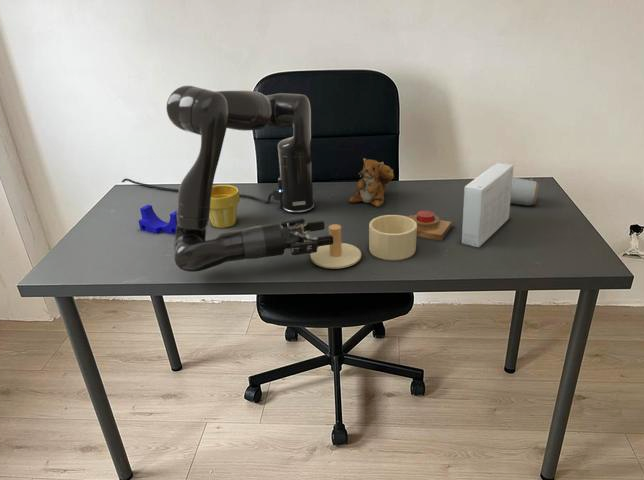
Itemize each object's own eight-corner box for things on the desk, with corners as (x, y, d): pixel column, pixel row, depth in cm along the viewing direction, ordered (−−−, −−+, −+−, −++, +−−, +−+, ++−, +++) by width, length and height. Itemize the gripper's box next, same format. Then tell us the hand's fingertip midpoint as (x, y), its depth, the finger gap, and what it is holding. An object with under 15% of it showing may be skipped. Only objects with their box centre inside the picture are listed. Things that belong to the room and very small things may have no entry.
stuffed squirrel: (347, 203, 166) (346, 161, 159) (370, 188, 176) (370, 149, 170) (376, 210, 161) (376, 167, 155) (397, 194, 172) (398, 153, 165)
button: (415, 221, 146) (415, 215, 145) (420, 215, 150) (420, 209, 149) (430, 224, 145) (431, 218, 144) (435, 218, 148) (436, 212, 147)
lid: (301, 264, 133) (299, 232, 129) (325, 243, 143) (324, 212, 139) (347, 275, 128) (346, 242, 124) (369, 252, 138) (369, 221, 134)
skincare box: (490, 215, 156) (497, 161, 148) (509, 219, 153) (516, 165, 146) (458, 243, 141) (464, 185, 134) (478, 248, 139) (484, 189, 131)
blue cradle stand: (140, 230, 153) (136, 210, 150) (151, 224, 156) (147, 204, 153) (174, 237, 148) (170, 217, 145) (185, 230, 152) (181, 211, 149)
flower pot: (249, 218, 158) (245, 186, 153) (231, 232, 150) (226, 199, 145) (218, 213, 161) (213, 182, 156) (198, 228, 153) (193, 195, 148)
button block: (398, 233, 147) (398, 221, 146) (410, 220, 154) (410, 208, 153) (441, 240, 143) (442, 228, 141) (451, 227, 150) (452, 215, 148)
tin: (361, 254, 137) (361, 229, 134) (380, 235, 146) (380, 211, 143) (406, 264, 132) (406, 238, 129) (421, 243, 142) (423, 219, 138)
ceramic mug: (535, 209, 159) (539, 184, 155) (506, 206, 161) (509, 182, 157) (536, 197, 167) (540, 173, 164) (508, 194, 170) (512, 170, 166)
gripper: (265, 240, 120) (335, 229, 124) (255, 215, 132) (320, 206, 136) (268, 269, 124) (336, 258, 128) (259, 243, 136) (322, 233, 140)
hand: (328, 232), depth 132 cm, fingers open, 8 cm apart
